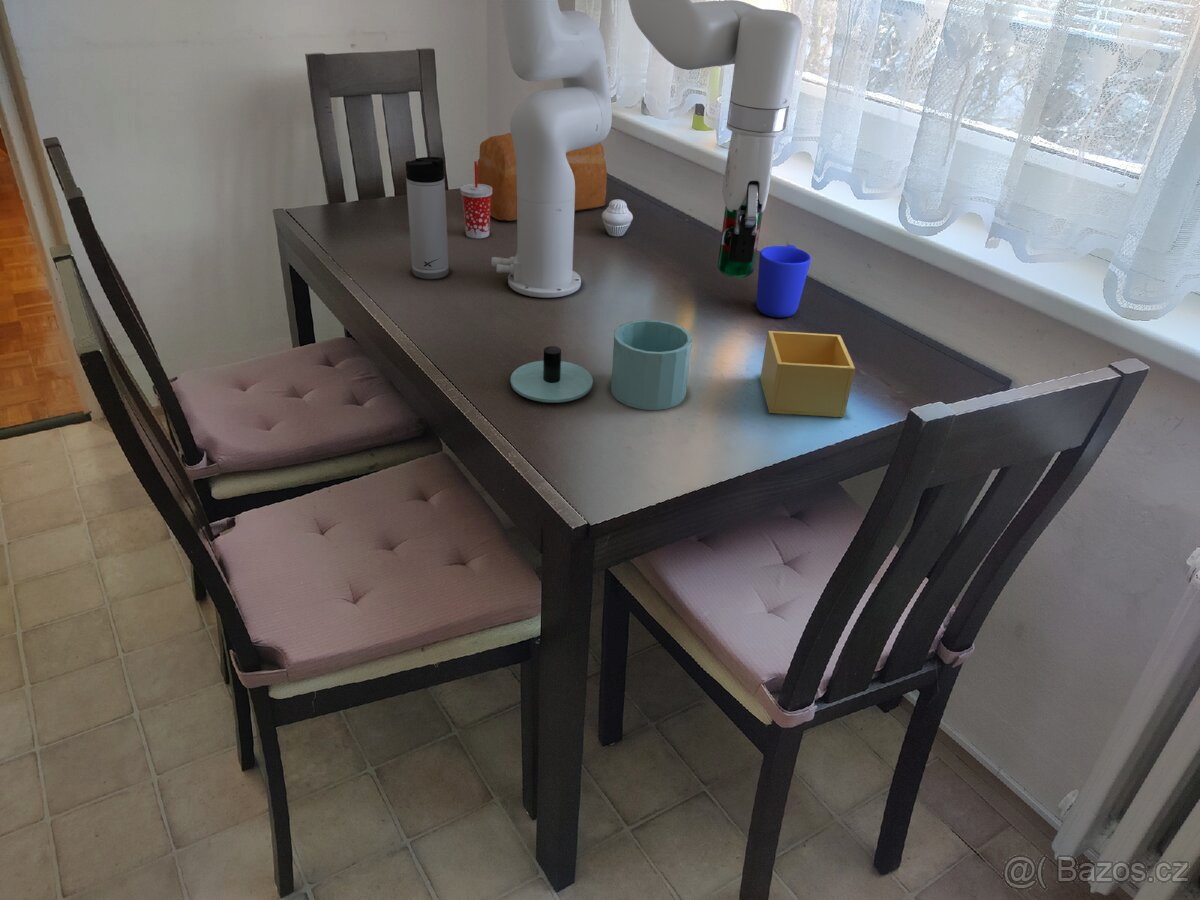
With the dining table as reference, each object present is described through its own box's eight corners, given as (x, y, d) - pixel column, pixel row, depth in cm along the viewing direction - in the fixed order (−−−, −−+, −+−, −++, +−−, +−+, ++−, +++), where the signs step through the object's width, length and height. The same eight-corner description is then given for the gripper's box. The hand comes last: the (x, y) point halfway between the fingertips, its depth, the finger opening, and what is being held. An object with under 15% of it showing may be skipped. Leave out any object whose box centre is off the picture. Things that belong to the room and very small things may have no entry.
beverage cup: (497, 238, 173) (496, 165, 165) (466, 241, 171) (463, 167, 163) (488, 227, 177) (486, 156, 170) (458, 230, 175) (455, 158, 168)
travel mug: (434, 283, 153) (427, 164, 142) (405, 273, 156) (396, 157, 145) (457, 272, 157) (453, 157, 146) (429, 263, 160) (422, 149, 149)
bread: (611, 208, 191) (615, 132, 183) (501, 225, 179) (501, 144, 170) (578, 190, 201) (580, 117, 192) (472, 205, 189) (469, 128, 180)
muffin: (597, 236, 176) (599, 201, 172) (604, 227, 181) (606, 192, 178) (628, 240, 175) (630, 205, 171) (634, 230, 180) (637, 196, 176)
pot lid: (505, 403, 120) (505, 366, 117) (515, 364, 129) (515, 329, 126) (590, 408, 120) (592, 371, 117) (593, 369, 129) (595, 334, 126)
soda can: (751, 281, 123) (765, 195, 117) (715, 276, 124) (726, 190, 117) (753, 268, 127) (766, 184, 121) (718, 263, 128) (729, 179, 121)
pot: (610, 407, 120) (613, 351, 116) (611, 371, 129) (615, 317, 124) (687, 412, 120) (693, 355, 116) (683, 375, 129) (689, 321, 124)
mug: (807, 298, 155) (817, 243, 150) (796, 325, 146) (807, 267, 140) (760, 290, 157) (769, 235, 152) (747, 316, 148) (755, 258, 142)
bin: (769, 413, 121) (777, 363, 117) (760, 377, 130) (768, 330, 126) (844, 417, 121) (855, 368, 117) (830, 381, 130) (840, 334, 126)
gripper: (721, 101, 121) (705, 231, 131) (735, 132, 107) (715, 275, 117) (776, 104, 121) (756, 234, 131) (797, 136, 107) (773, 279, 117)
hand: (737, 252), depth 124 cm, fingers closed on soda can, 5 cm apart
